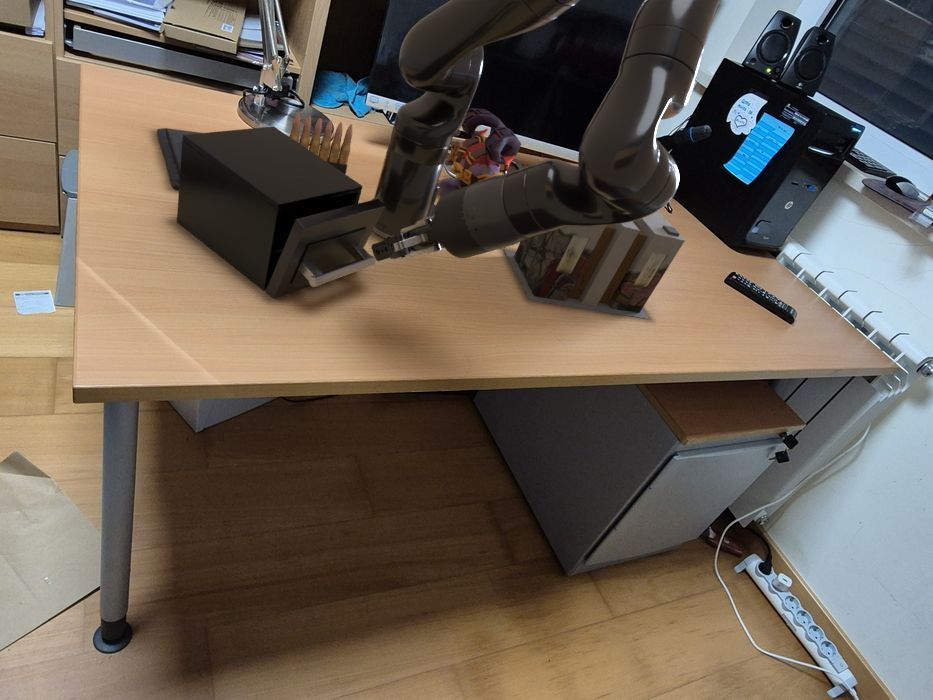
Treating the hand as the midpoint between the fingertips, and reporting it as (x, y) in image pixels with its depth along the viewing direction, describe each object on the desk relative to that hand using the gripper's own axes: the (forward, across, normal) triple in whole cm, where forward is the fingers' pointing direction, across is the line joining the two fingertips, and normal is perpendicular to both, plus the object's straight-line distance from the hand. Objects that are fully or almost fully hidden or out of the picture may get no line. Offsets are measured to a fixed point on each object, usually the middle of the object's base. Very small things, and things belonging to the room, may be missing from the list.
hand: (377, 252), depth 78 cm
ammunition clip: (+29, +21, +14) cm, 39 cm away
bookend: (-2, +44, -18) cm, 48 cm away
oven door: (+13, 0, -2) cm, 13 cm away
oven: (+21, 0, +6) cm, 22 cm away
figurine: (+18, +51, +3) cm, 54 cm away
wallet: (+37, +8, +22) cm, 43 cm away
